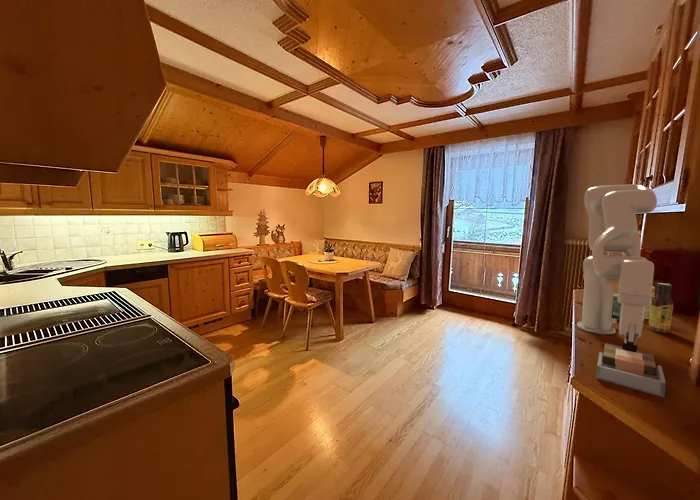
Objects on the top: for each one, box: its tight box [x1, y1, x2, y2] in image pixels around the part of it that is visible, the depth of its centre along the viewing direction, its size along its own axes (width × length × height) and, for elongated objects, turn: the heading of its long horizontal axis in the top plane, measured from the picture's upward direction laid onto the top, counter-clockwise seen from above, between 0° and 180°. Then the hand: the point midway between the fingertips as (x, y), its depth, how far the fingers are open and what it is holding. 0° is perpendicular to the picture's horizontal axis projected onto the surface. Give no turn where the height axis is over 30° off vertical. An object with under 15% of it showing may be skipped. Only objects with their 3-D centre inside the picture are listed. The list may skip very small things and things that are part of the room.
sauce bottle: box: [648, 282, 674, 334], centre depth 122 cm, size 6×6×20 cm
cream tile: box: [615, 348, 642, 365], centre depth 91 cm, size 5×6×2 cm
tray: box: [595, 351, 667, 398], centre depth 88 cm, size 12×14×4 cm
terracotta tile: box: [615, 355, 644, 376], centre depth 89 cm, size 5×6×2 cm
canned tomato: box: [611, 292, 622, 321], centre depth 139 cm, size 8×8×11 cm
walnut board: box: [602, 342, 657, 376], centre depth 97 cm, size 13×12×3 cm
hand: (628, 354), depth 94 cm, fingers closed
